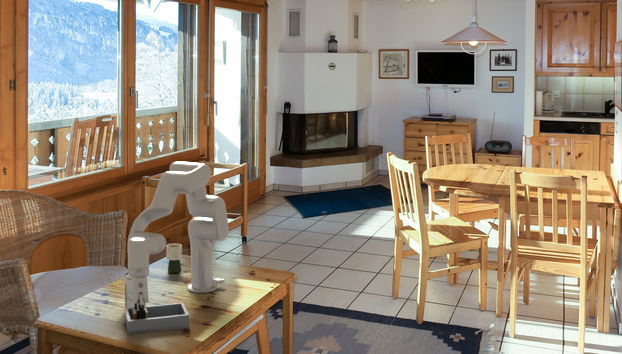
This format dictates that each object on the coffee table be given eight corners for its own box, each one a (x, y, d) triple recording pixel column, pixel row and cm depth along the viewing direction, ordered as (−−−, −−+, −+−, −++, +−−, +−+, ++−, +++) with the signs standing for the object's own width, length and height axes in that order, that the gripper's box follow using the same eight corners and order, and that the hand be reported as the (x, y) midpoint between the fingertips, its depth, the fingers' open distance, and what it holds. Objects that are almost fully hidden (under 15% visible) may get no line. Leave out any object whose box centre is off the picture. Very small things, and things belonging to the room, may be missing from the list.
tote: (183, 314, 277) (182, 302, 276) (189, 327, 264) (188, 314, 263) (125, 321, 270) (124, 308, 269) (128, 334, 257) (127, 321, 256)
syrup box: (136, 306, 285) (135, 271, 283) (146, 309, 282) (145, 274, 280) (125, 310, 281) (123, 275, 278) (135, 313, 278) (134, 277, 275)
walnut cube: (146, 320, 268) (146, 307, 267) (148, 325, 263) (147, 312, 262) (133, 321, 266) (132, 309, 265) (134, 326, 261) (133, 313, 261)
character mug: (186, 274, 328) (185, 247, 326) (171, 276, 324) (171, 249, 322) (177, 268, 337) (176, 241, 335) (163, 270, 333) (162, 243, 331)
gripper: (152, 276, 254) (153, 324, 257) (146, 263, 270) (147, 308, 273) (130, 278, 252) (132, 326, 255) (126, 265, 268) (127, 310, 271)
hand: (140, 316), depth 264 cm, fingers open, 6 cm apart
